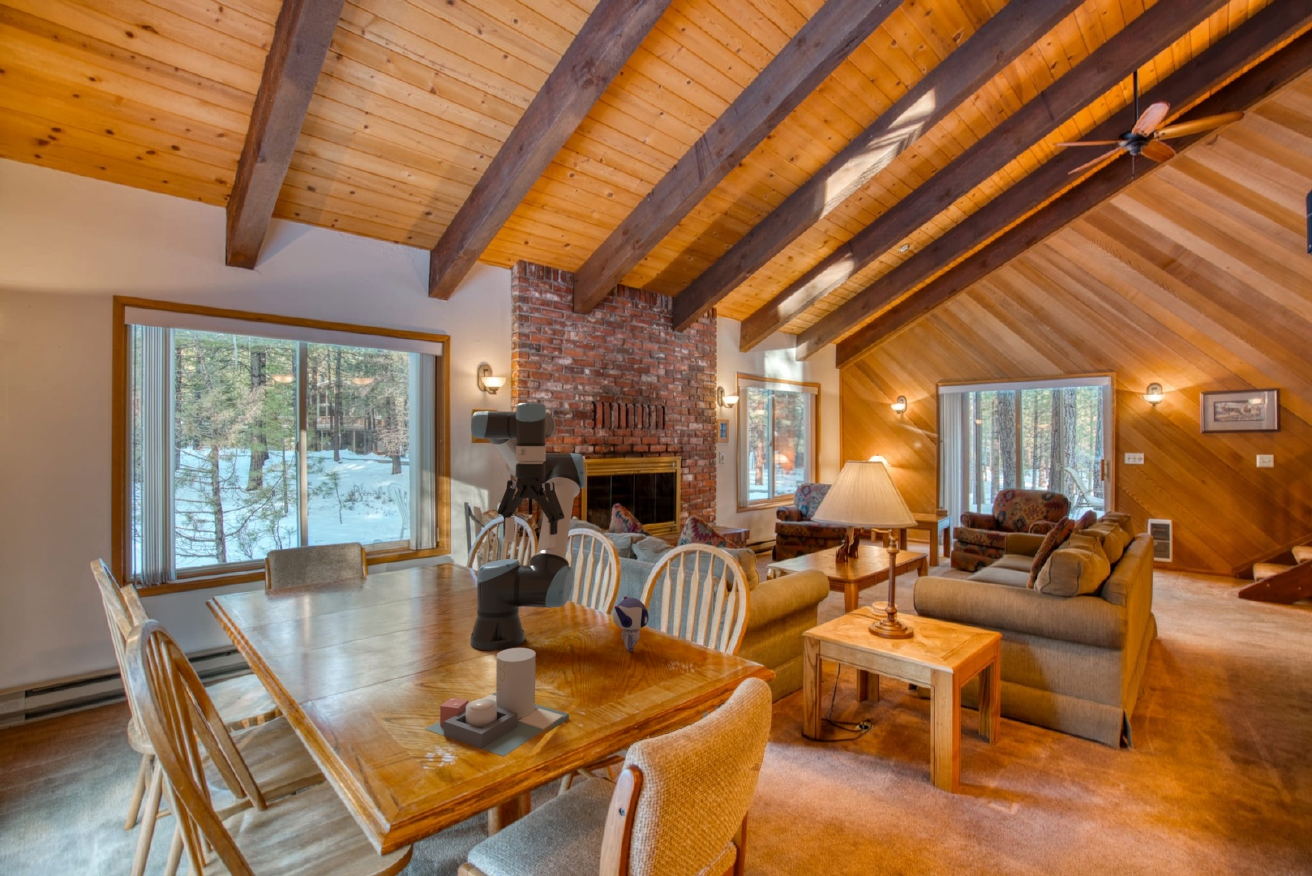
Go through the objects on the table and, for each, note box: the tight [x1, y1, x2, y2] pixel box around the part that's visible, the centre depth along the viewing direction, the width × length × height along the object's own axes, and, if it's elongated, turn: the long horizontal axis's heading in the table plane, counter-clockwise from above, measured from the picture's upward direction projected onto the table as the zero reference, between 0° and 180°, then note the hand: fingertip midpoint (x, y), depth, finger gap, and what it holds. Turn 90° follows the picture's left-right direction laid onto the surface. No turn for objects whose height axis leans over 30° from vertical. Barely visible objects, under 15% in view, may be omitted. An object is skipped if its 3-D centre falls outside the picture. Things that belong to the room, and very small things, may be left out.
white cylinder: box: [495, 647, 537, 719], centre depth 132 cm, size 8×8×12 cm
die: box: [439, 697, 469, 726], centre depth 127 cm, size 4×4×4 cm
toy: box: [612, 596, 650, 653], centre depth 172 cm, size 11×10×15 cm
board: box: [424, 692, 570, 757], centre depth 128 cm, size 21×20×4 cm
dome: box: [466, 698, 497, 729], centre depth 124 cm, size 6×6×4 cm
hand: (529, 544), depth 160 cm, fingers open, 13 cm apart
